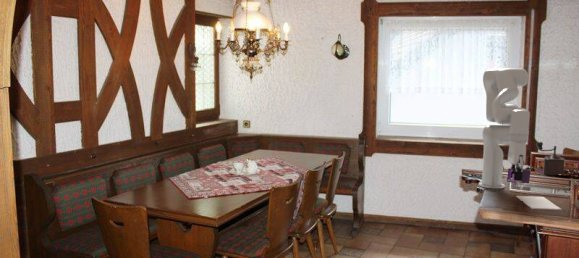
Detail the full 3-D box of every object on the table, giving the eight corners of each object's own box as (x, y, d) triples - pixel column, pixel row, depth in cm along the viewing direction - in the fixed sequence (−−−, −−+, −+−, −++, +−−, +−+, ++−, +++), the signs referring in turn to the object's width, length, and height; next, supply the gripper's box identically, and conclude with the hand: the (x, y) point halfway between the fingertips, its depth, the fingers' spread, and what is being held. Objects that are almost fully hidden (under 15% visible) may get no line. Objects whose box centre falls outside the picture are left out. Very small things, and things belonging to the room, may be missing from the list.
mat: (516, 196, 250) (516, 195, 250) (543, 197, 249) (543, 196, 249) (531, 208, 229) (531, 207, 229) (561, 210, 227) (561, 208, 227)
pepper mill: (563, 173, 311) (565, 142, 309) (563, 176, 301) (565, 145, 299) (534, 170, 318) (536, 141, 316) (533, 173, 308) (535, 143, 306)
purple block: (530, 168, 231) (508, 167, 234) (531, 175, 226) (509, 173, 229) (528, 182, 234) (506, 180, 237) (529, 188, 229) (507, 186, 232)
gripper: (504, 135, 239) (501, 174, 241) (515, 140, 222) (512, 183, 225) (521, 135, 238) (518, 175, 240) (534, 141, 221) (531, 183, 224)
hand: (515, 178), depth 232 cm, fingers closed on purple block, 4 cm apart
